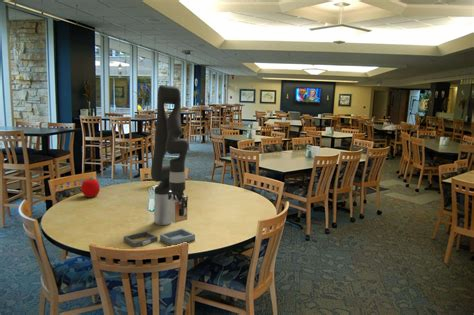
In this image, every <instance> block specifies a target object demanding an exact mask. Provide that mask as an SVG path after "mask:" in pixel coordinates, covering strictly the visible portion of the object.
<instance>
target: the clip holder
mask: <svg viewBox="0 0 474 315" xmlns="http://www.w3.org/2000/svg"><path fill="white" fill-rule="evenodd" d="M142 237H148V238H144V239H142V240H141V239H140V240H137V241H135V240H134V239H138V238H142ZM123 241H124V242H125V243H127V244H128V245H130V246H131V247H133V248H137V247H140V246H145V245H148V244H151V243H154V242H158V236H157V235H155V234H154V233H152V232H150V231H149V230H144V231H141V232H136V233H133V234H132V233H131V234H128V235H126V236H123Z"/></svg>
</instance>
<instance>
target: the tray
mask: <svg viewBox="0 0 474 315" xmlns="http://www.w3.org/2000/svg"><path fill="white" fill-rule="evenodd" d="M159 240H160V241H161V242H163V243H165V244H166V245H168V246H170V247H171V245H177V244H180V243H183V242H188V243H190V242H193V241H194V242H195V241H196V234H195V233H193V232H191V231H189V230H186V229H184V228H178V229H174V230H171V231H167V232H163V233H160V234H159Z"/></svg>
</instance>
